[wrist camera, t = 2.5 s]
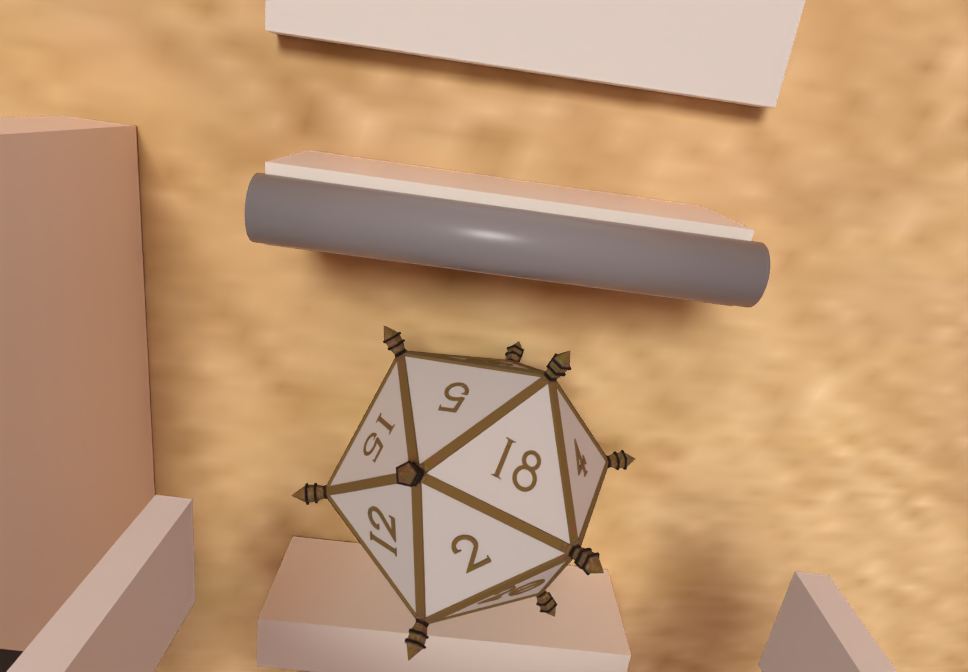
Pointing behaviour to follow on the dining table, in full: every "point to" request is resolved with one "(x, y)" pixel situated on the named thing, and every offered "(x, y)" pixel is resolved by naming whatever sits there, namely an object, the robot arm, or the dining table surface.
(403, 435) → the game die
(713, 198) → the dining table surface
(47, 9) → the dining table surface
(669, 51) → the mat
